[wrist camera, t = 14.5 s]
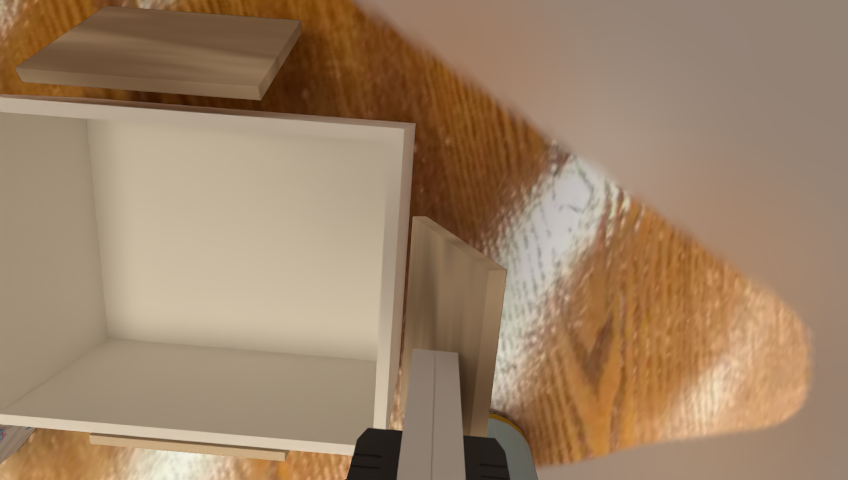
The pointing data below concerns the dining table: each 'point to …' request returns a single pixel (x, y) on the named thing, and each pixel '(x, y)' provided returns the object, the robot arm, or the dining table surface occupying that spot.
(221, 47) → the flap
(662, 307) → the dining table surface
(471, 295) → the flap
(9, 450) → the ink box
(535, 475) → the bottle
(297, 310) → the carton
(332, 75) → the dining table surface
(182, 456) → the dining table surface
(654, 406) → the dining table surface
